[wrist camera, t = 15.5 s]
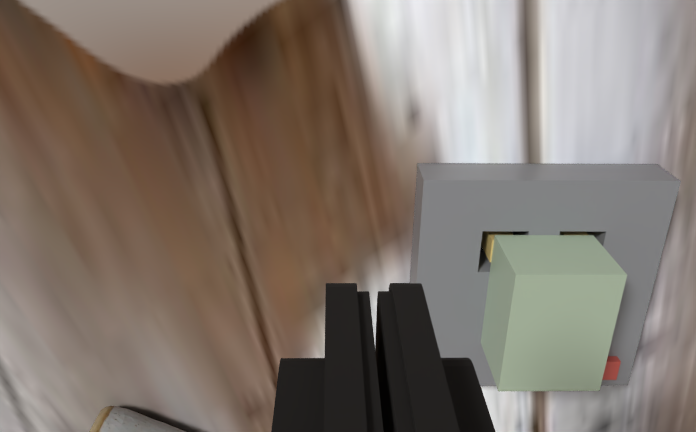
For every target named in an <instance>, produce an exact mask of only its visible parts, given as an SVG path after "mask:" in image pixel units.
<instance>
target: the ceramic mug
mask: <svg viewBox="0 0 696 432" xmlns="http://www.w3.org/2000/svg"><path fill="white" fill-rule="evenodd" d="M89 432H186V431H183V430H181V429H178V428H176V427H173V426H171V425H168V424H166V423H163V422H160V421H157V420H154V419H151V418H149V417H147V416H144V415H142V414H139V413H137V412H134V411H132V410H129V409H126V408H121V407H116V406H108V407H105V408H104V409H102V410H101V411H100V413H99V415H98V416H97V418H96V420H95V422H94V424H93V426H92V428H91V429H90V431H89Z"/></svg>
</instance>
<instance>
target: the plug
mask: <svg viewBox="0 0 696 432" xmlns="http://www.w3.org/2000/svg"><path fill="white" fill-rule="evenodd" d="M481 245H482V248H483V250H484V252H485V254H486V256H487V258H488V260H489V262H491V267H490V275H489V282H488V290H487V298H486V305H485V313H484V321H483V328H482V336H481V345H482V348H483V350H484V353H485V356H486V359H487V361H488V364H489V367H490V370H491V373H492V375H493V378H494V381H495V384H496V386H497V389H498V391H600V387H601V383H602V379H603V374H604V370H605V366H606V362H607V358H608V353H609V349H610V345H611V341H612V337H613V332H614V328H615V324H616V320H617V316H618V312H619V307H620V303H621V299H622V295H623V291H624V286H625V282H626V278H627V274H626V273H625V272H624V270H623V269H622V268H621V267H620V266H619V265H618V263H617V262H616V261H615V260H614V259H613V258H612V256H611V255H610V254H609V253H608V252H607V251H606V249H605V248H604V247H603V246H602V245H601V244H600V242H599V241H598V240H597V239H596V238H595V237H594V236H593V235H588V233H587V232H585V231H560V235H513V233H512V231H483V232H482V240H481Z"/></svg>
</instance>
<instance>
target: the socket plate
mask: <svg viewBox="0 0 696 432" xmlns="http://www.w3.org/2000/svg"><path fill="white" fill-rule="evenodd" d="M680 182H681V181H680V180H679V179H677V178H676V177H675V176H673V175H672V174H670V173H669V172H668V171H666V170H665V169H663V168H662V167H661V166H659V165H658V164H475V163H417V178H416V194H415V209H414V224H413V240H412V255H411V270H410V283H421V284H422V286H423V290H424V294H425V298H426V302H427V306H428V309H429V313H430V317H431V321H432V325H433V329H434V333H435V337H436V341H437V344H438V348H439V352H440V356H441V358H469V359H471V361H472V363H473V365H474V368H475V371H476V374H477V377H478V380H479V384H480V386H496V384H495V381H494V378H493V375H492V373H491V370H490V367H489V364H488V361H487V359H486V356H485V353H484V350H483V348H482V345H481V336H482V328H483V321H484V313H485V305H486V298H487V290H488V282H489V275H490V267H491V262H489V260H488V258H487V256H486V254H485V252H484V251H480V249H481V240H482V232H483V231H514V232H513V235H560V231H585V232H587V233H588V235H593V236H594V237H595V238H596V239H597V240H598V241H599V242H600V244H601V245H602V246H603V247H604V248H605V249H606V251H607V252H608V253H609V254H610V255H611V256H612V258H613V259H614V260H615V261H616V262H617V263H618V265H619V266H620V267H621V268H622V269H623V270H624V272H625V273H626V274H627V278H626V282H625V286H624V291H623V295H622V299H621V303H620V307H619V312H618V316H617V320H616V324H615V328H614V332H613V337H612V341H611V345H610V349H609V353H608V358H607V362H606V366H605V370H604V374H603V379H602V383H601V385H628V382H629V378H630V375H631V371H632V367H633V363H634V359H635V355H636V352H637V348H638V344H639V340H640V336H641V332H642V328H643V325H644V321H645V317H646V313H647V309H648V305H649V302H650V298H651V294H652V290H653V286H654V282H655V278H656V275H657V271H658V267H659V263H660V259H661V255H662V251H663V248H664V244H665V240H666V236H667V232H668V228H669V225H670V221H671V217H672V213H673V209H674V205H675V201H676V198H677V194H678V190H679V186H680Z"/></svg>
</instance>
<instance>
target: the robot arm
mask: <svg viewBox="0 0 696 432" xmlns="http://www.w3.org/2000/svg"><path fill="white" fill-rule="evenodd" d="M272 432H495V429H494V426H493V423H492V420H491V417H490V414H489V411H488V408H487V405H486V402H485V399H484V396H483V393H482V390H481V387H480V384H479V380H478V377H477V374H476V371H475V368H474V365H473V363H472V361H471V359H469V358H441V356H440V352H439V348H438V344H437V341H436V337H435V333H434V329H433V325H432V321H431V317H430V313H429V309H428V306H427V302H426V298H425V294H424V290H423V286H422V284H421V283H390V286H389V291H378V298H377V323H376V348H375V345H374V335H373V326H372V316H371V307H370V297H369V292H357V284H356V283H326V314H325V358H281V360H280V365H279V373H278V381H277V390H276V398H275V407H274V415H273V424H272Z"/></svg>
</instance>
